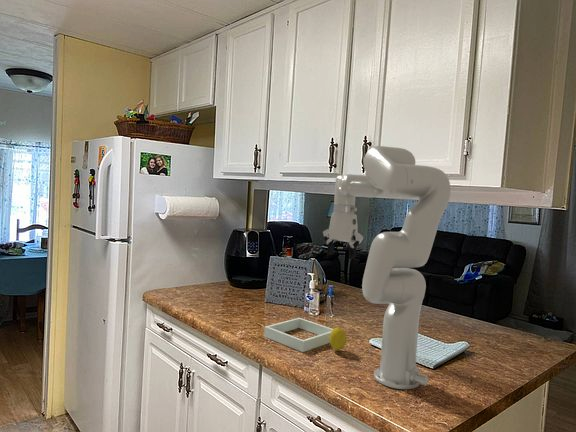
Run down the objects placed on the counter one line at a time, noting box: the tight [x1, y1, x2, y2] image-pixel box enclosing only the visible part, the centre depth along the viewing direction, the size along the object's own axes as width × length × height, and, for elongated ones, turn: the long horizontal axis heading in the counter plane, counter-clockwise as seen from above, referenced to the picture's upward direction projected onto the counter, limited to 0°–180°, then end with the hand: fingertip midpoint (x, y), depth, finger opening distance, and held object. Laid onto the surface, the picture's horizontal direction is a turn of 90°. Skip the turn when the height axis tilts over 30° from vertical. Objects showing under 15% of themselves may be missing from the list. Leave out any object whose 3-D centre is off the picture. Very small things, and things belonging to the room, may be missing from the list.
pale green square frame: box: [263, 317, 334, 353], centre depth 149 cm, size 18×18×4 cm
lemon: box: [329, 326, 347, 352], centre depth 139 cm, size 6×6×8 cm
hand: (340, 256), depth 155 cm, fingers open, 9 cm apart
